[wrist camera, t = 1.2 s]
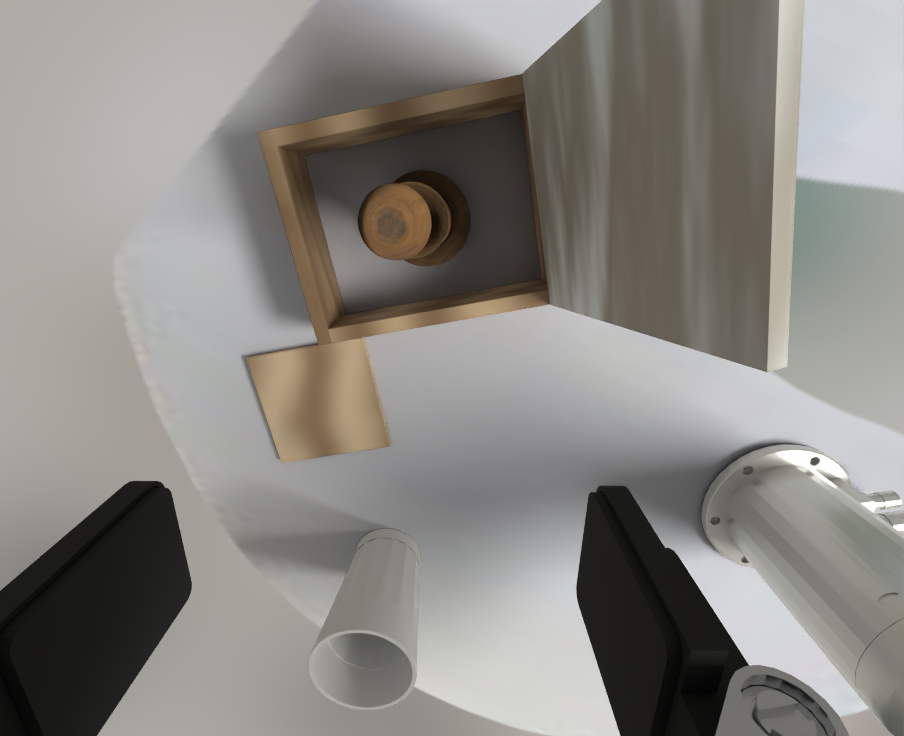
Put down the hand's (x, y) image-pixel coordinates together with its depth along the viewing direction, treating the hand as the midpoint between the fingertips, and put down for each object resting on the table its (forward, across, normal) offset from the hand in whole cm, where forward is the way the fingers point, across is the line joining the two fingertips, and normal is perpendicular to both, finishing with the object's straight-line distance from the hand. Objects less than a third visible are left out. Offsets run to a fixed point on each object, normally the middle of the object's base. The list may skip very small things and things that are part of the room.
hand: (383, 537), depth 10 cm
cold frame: (+28, -1, -6) cm, 29 cm away
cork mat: (+28, +10, +9) cm, 31 cm away
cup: (+28, +4, +25) cm, 38 cm away
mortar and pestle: (+28, 0, -6) cm, 29 cm away
